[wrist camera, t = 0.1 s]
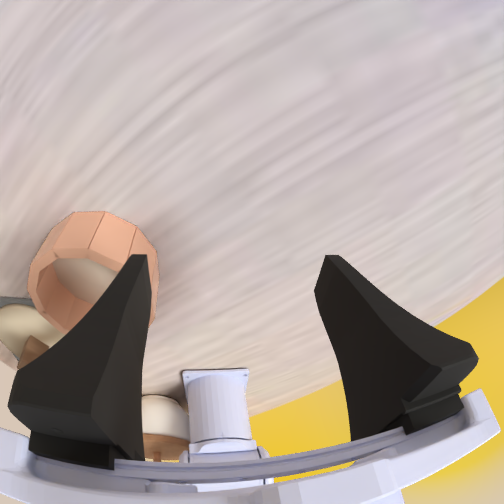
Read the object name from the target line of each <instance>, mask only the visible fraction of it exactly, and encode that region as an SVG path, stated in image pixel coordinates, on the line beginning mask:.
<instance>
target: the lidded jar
mask: <svg viewBox="0 0 504 504" xmlns="http://www.w3.org/2000/svg"><path fill="white" fill-rule="evenodd" d="M142 428H143V443H144V454H145V458H149V459H153V460H154V461H153V462H161V460H179V456H180V455H181V454H182V453H183V451H185V450H188V451H189V444H190V428H189V415H188V414H187V412H186V411H185V410H184V409H183V408H182V407H181V406H179V403H178V402H177V401H176V400H174V399H172V398H169V397H165V396H160V395H146V396H142Z"/></svg>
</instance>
